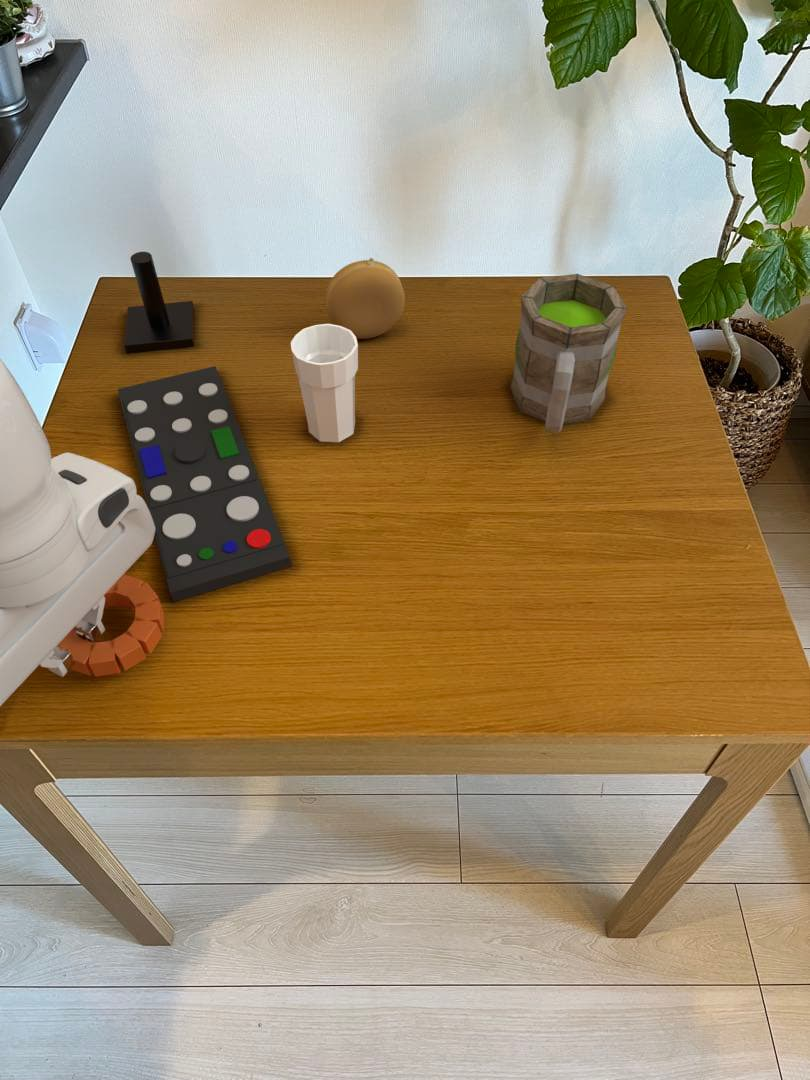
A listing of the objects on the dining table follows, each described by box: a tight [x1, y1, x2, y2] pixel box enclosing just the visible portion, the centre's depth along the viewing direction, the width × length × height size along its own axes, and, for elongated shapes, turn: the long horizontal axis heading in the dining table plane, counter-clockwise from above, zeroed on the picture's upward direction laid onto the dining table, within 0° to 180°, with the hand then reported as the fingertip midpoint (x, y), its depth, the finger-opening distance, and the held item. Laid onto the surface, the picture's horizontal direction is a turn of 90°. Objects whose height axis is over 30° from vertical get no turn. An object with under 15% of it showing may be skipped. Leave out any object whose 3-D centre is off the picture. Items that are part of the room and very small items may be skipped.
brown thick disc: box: [324, 257, 406, 340], centre depth 95 cm, size 9×4×10 cm, turn 105°
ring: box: [57, 573, 165, 677], centre depth 68 cm, size 9×9×2 cm
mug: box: [509, 273, 628, 434], centre depth 86 cm, size 16×11×12 cm
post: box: [123, 251, 195, 354], centre depth 96 cm, size 8×8×10 cm
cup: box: [290, 323, 359, 443], centre depth 84 cm, size 7×7×11 cm
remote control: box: [117, 365, 293, 603], centre depth 83 cm, size 11×30×2 cm, turn 22°
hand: (77, 650), depth 66 cm, fingers closed on ring, 2 cm apart
